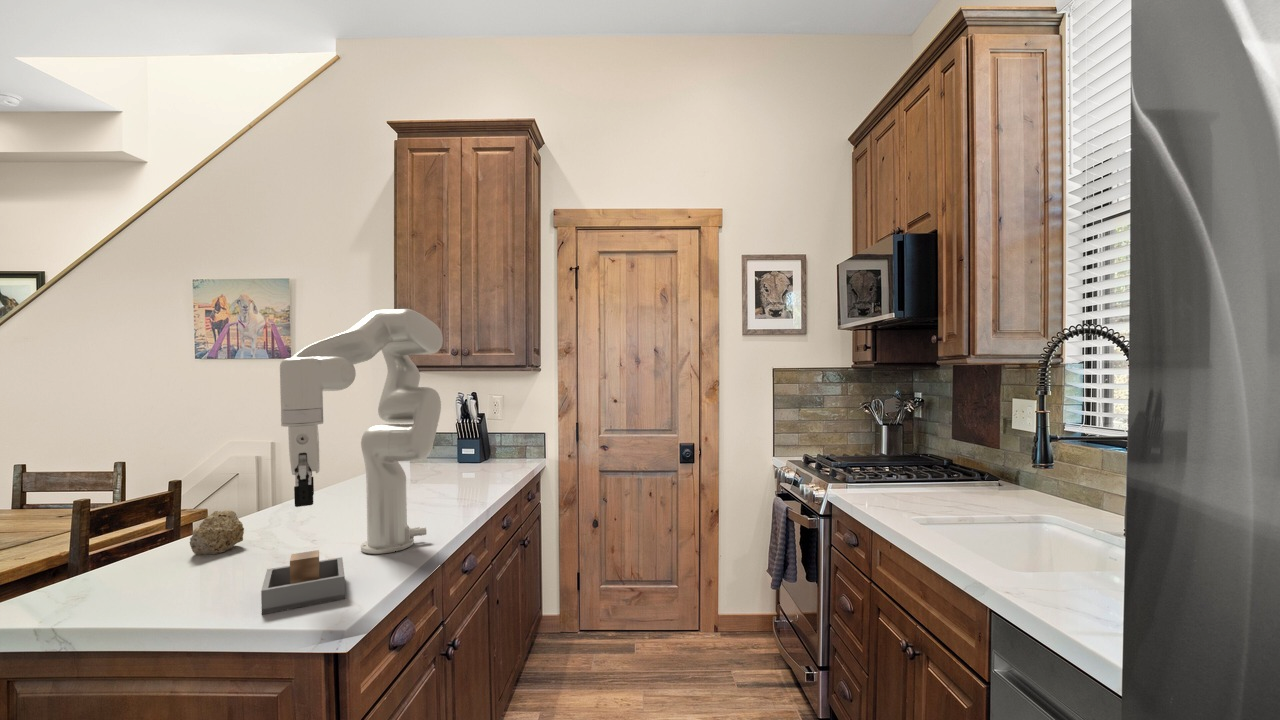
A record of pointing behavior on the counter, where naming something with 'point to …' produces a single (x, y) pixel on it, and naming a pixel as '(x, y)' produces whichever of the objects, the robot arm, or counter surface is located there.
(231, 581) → the counter surface
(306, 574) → the walnut block
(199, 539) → the rock
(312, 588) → the bin
